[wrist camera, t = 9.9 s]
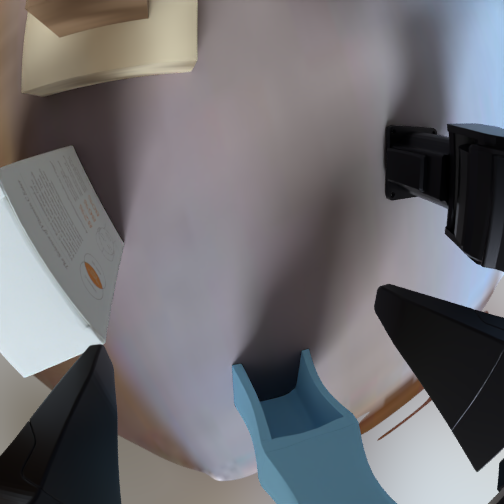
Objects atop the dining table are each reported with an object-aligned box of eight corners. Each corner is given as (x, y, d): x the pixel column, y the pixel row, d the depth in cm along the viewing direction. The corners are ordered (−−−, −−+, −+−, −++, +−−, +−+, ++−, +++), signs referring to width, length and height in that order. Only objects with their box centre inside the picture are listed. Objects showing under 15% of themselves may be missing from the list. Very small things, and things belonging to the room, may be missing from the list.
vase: (234, 411, 30) (298, 571, 12) (231, 365, 26) (316, 566, 9) (300, 396, 32) (381, 535, 14) (308, 348, 29) (420, 513, 11)
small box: (14, 185, 15) (-78, 241, 6) (74, 142, 16) (-8, 164, 6) (66, 278, 19) (23, 383, 10) (127, 245, 19) (107, 347, 10)
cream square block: (192, -43, 12) (200, -71, 9) (190, 73, 16) (197, 60, 13) (57, -21, 10) (41, -43, 6) (45, 97, 14) (21, 92, 10)
